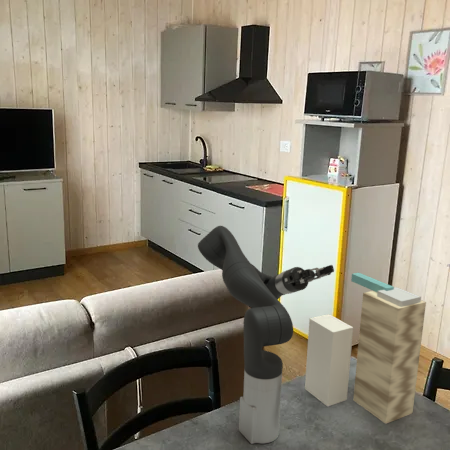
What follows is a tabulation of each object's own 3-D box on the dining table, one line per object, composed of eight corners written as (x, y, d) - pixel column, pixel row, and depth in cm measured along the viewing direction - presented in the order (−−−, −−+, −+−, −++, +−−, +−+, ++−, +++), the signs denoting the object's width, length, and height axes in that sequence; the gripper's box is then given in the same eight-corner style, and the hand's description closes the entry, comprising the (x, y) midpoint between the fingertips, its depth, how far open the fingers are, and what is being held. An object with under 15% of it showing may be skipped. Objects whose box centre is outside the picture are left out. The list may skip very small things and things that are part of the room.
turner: (401, 307, 124) (401, 298, 123) (345, 282, 141) (346, 274, 140) (420, 302, 127) (421, 294, 127) (363, 278, 144) (364, 271, 144)
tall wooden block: (385, 423, 130) (398, 308, 123) (353, 400, 140) (363, 292, 133) (412, 413, 135) (426, 302, 128) (379, 391, 145) (390, 287, 138)
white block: (327, 406, 137) (333, 332, 132) (304, 388, 145) (309, 318, 140) (346, 400, 140) (353, 327, 135) (323, 382, 149) (328, 314, 144)
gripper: (270, 272, 159) (299, 261, 146) (305, 266, 166) (336, 255, 153) (276, 296, 158) (306, 286, 144) (311, 288, 165) (343, 279, 151)
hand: (321, 270), depth 148 cm, fingers open, 8 cm apart
